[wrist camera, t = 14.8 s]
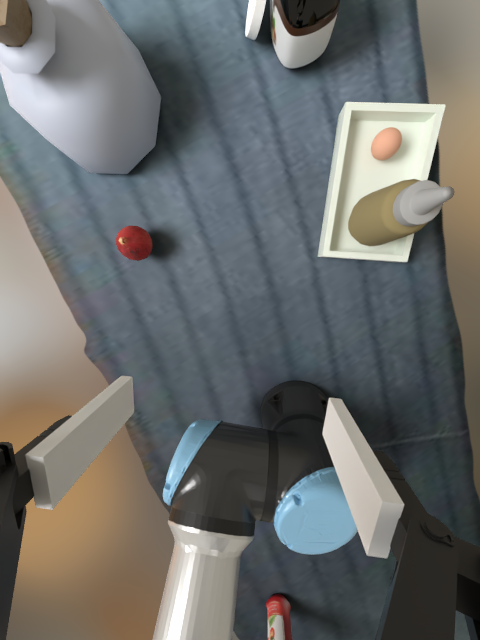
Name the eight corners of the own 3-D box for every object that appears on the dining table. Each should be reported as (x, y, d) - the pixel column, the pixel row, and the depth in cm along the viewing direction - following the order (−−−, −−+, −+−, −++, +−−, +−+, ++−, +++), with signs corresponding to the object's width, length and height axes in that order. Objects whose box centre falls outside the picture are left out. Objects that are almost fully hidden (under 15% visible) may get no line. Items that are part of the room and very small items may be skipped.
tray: (396, 262, 42) (407, 262, 38) (317, 256, 42) (322, 256, 39) (429, 118, 36) (445, 104, 33) (338, 115, 37) (346, 101, 34)
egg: (389, 165, 37) (404, 153, 33) (363, 164, 38) (376, 152, 34) (395, 136, 36) (411, 121, 32) (369, 135, 37) (382, 120, 33)
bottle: (30, 88, 40) (-165, -60, 21) (121, 13, 36) (-20, -242, 18) (95, 200, 43) (-24, 156, 25) (184, 142, 40) (120, 41, 21)
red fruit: (164, 254, 45) (144, 253, 37) (138, 264, 45) (113, 264, 38) (152, 224, 43) (129, 216, 36) (125, 235, 44) (97, 229, 37)
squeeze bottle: (331, 221, 40) (387, 189, 23) (372, 186, 38) (466, 124, 21) (358, 257, 41) (430, 254, 24) (399, 225, 39) (510, 197, 22)
